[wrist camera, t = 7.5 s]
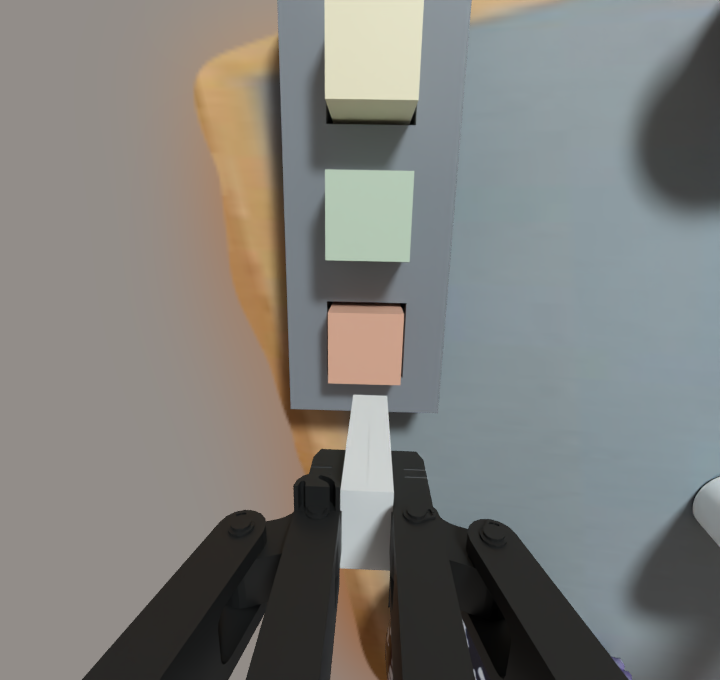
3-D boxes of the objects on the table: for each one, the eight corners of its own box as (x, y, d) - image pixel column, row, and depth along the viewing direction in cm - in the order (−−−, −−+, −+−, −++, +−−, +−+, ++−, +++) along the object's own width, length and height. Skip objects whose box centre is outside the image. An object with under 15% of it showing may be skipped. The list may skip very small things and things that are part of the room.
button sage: (334, 182, 29) (324, 169, 23) (404, 183, 29) (414, 170, 23) (334, 253, 31) (325, 260, 24) (401, 255, 31) (409, 262, 24)
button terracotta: (335, 296, 33) (327, 312, 27) (397, 298, 33) (404, 314, 27) (335, 355, 35) (328, 383, 28) (394, 357, 35) (400, 385, 28)
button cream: (334, 42, 27) (324, -15, 21) (411, 43, 27) (424, -14, 20) (334, 127, 28) (324, 98, 22) (407, 128, 28) (418, 99, 22)
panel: (291, 3, 28) (276, -43, 24) (456, 5, 28) (475, -41, 23) (301, 385, 37) (290, 408, 32) (428, 388, 36) (437, 413, 32)
